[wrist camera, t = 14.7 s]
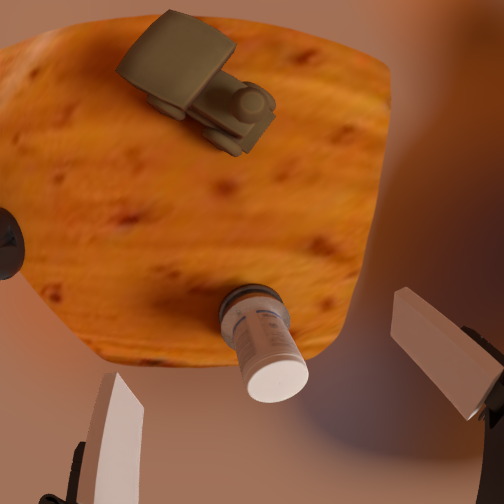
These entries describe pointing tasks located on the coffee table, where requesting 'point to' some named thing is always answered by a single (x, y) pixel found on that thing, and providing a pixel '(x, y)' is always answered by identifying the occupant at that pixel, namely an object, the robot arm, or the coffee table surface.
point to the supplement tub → (268, 356)
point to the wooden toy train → (197, 81)
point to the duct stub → (248, 307)
